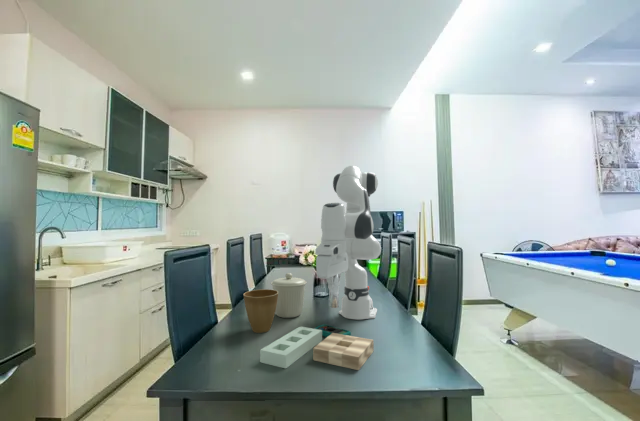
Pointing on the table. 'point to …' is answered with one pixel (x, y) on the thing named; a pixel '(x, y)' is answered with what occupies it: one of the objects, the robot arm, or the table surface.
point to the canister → (289, 296)
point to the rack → (290, 347)
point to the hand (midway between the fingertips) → (333, 287)
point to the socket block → (344, 351)
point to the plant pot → (261, 308)
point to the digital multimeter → (332, 330)
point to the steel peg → (334, 293)
